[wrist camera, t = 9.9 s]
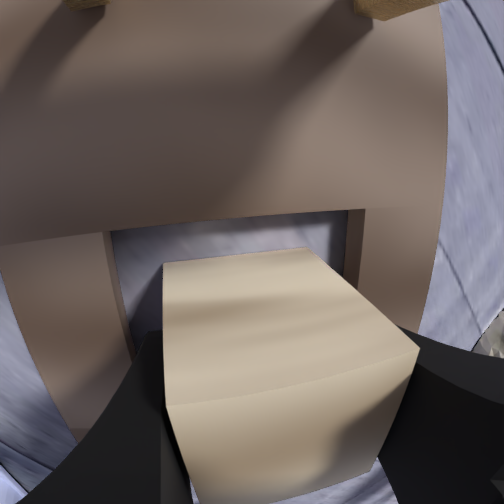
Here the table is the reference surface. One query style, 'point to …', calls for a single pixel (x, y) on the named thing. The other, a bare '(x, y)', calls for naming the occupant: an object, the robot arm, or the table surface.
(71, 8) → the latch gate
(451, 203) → the table surface
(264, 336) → the birch block
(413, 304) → the puzzle board
